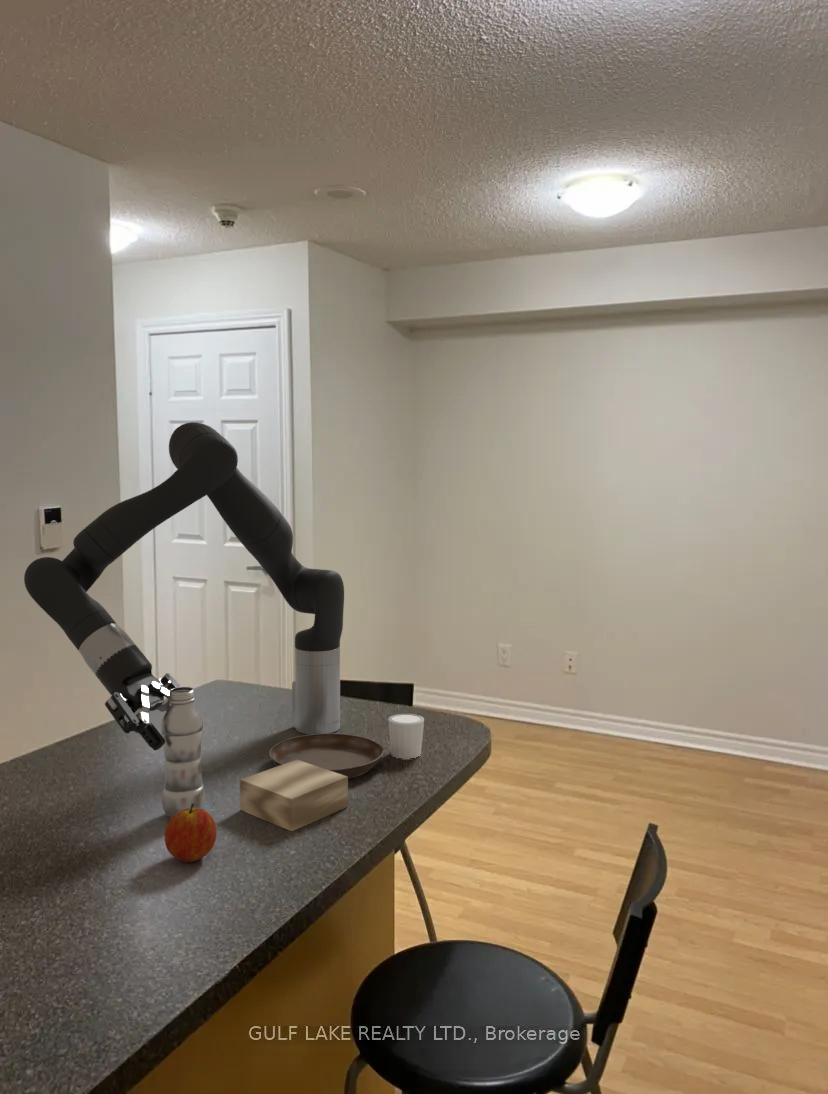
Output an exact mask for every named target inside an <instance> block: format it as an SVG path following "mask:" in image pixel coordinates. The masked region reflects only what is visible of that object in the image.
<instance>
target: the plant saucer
mask: <svg viewBox="0 0 828 1094" xmlns="http://www.w3.org/2000/svg"><path fill="white" fill-rule="evenodd" d="M383 754H384V747H383V746H382V745H381V744H380V743H378V742H377V741H376V740H373V739H371V738H368V737H364V736H359V735H354V734H349V733H348V734H345V733H333V732H332V733H327V734H305V735H300V736H294V737H290V738H288V739H284V740H282V741H280V742H278V743H276V744H274V745H273V746H272V747H271V748H270V749H269V754H268V755H269V757H270V760H271V761H272V762H273V764H274V765H275V767H277V766H280V765H283V764H286V763H288V762H291V761H294V760H300V761H303V762H306V763H309V764H312V765H315V766H318V767H321V768H324V769H327V770H330V771H333V772H336V773H339V774H342V775H345V776H348V780H350V779H354V778H358V777H361V776H362V775H364V774H367V773H368V772H369V771H370V770H372V769H373V768H374V767H375V766H376V765H377V764H378V762H379V761H380V760H381V758H382V756H383Z"/></svg>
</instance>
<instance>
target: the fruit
mask: <svg viewBox="0 0 828 1094" xmlns="http://www.w3.org/2000/svg"><path fill="white" fill-rule="evenodd" d="M193 806H194V804H193V803H192V805H191V808H187V809H184V810H181V811H179V812H178V813H176V814H175V815H173V816H172V817H171V818H169V819H168V821H167V824H166V826H165V830H164V844H165V848H166V850H167V851H168V853H169V854H170V855H171V856H172V857H174V858H176V859H178V860H180V861H182V862H184V863H189V864H190V863H192V862H196V861H199V860H201V859H203V858H204V857H205V856H207V855H208V854H209V853H210V852H211V851H212V849H213V847H214V846H215V844H216V840H217V832H218V831H217V826H216V823H215V820H214V818H213V817H212V815H211V814H210V813H209V812H208V811H206V810H205V809H195V808H193Z"/></svg>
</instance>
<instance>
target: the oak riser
mask: <svg viewBox="0 0 828 1094" xmlns="http://www.w3.org/2000/svg"><path fill="white" fill-rule="evenodd" d="M239 792H240V793H239V795H240V797H239V799H240V806H239V807H240V811H241V812H243V813H247V814H249V815H252V816H253V817H256V818H259V819H262V820H264V821H265V822H268V823H271V824H273V825H275V826H278V827H280V828H282V829H284V830H287V831H290V832H294V831H296V830H298V829H300V828H303V827H306V826H307V825H309V824H312V823H315V822H317V821H319V820H321V819H324V818H325V817H328V816H331V815H332V814H335V813H337V812H339V810H340V811H341V810H344V809H346V807H347V808H348V807H349V779H348V776H345V775H342V774H339V773H336V772H333V771H330V770H327V769H324V768H321V767H318V766H315V765H312V764H309V763H306V762H303V761H300V760H294V761H291V762H288V763H286V764H283V765H280V766H274V767H272V768H268V769H266V770H263V771H260V772H258V773H255V774H252V775H249V776H246V777H243V778H241V779H240V780H239Z"/></svg>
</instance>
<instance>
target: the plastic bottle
mask: <svg viewBox="0 0 828 1094" xmlns="http://www.w3.org/2000/svg"><path fill="white" fill-rule="evenodd" d="M194 702H195V690H194V688H193V687H190V686H181V687H177V688H173V689H171V690H170V692H169V703H170V705H171V706H170V707H169V709H168V710H167V711H165V713H164V715H163V717H162V718H161V721H160V725H159V726H160V732H161V733H160V734H161V735H162V737H163V738H164V739H165V744H164V745H163V751H164V759H165V760H164V764H165V765H164V766H165V771H164V786H163V790H162V800H161V803H162V808H163V809H162V810H163V813H165V815H166V816H167V817H169V819H171V817H172V816H173V815H175V814H176V813H178V812H179V811H181V810H184V809H187V808H191V805H192V803H193V804H194V806H193V808H195V809H202V810H204V808H205V803H206V792H205V791H206V790H205V786H204V783H203V774H202V766H201V764H202V763H201V760H202V759H201V755H202V740H203V732H204V720H203V717H202V715H201V713H200V712H199V710H198V709H197V707H196V706H195V705H194Z"/></svg>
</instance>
